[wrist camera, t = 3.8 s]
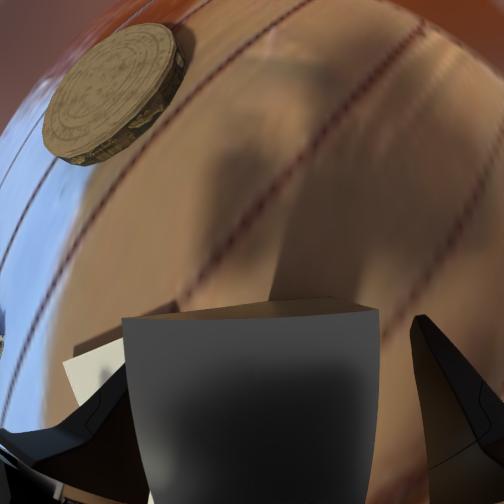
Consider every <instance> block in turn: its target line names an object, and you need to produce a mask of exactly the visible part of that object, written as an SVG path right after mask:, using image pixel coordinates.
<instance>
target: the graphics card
mask: <svg viewBox="0 0 504 504" xmlns="http://www.w3.org/2000/svg"><path fill="white" fill-rule="evenodd" d="M4 338H5V335H4V336H3V337H2V335H1V334H0V358H1V355H2V351H3V348H4Z"/></svg>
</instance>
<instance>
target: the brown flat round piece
mask: <svg viewBox="0 0 504 504" xmlns="http://www.w3.org/2000/svg"><path fill="white" fill-rule="evenodd" d="M185 67H186V59H185V56H184V52H183V49H182V47H181V46H180V44H179V42H178V41H177V39H176V38H175V36H174V35H173V33H172V31H170V30H169V29H168V28H166V27H165V26H164V25H162V24H156V23H144V24H139V25H135V26H130V27H128V28H126V29H123V30H121V31H119V32H117V33H115V34H112V35H111V36H109V37H108V38H106V39H105V40H103V41H102V42H100V43H99V44H97V45H96V46H94V47H93V48H92V49H91V50H90V51H88V52H87V53H86V54H85V55H84V56H83V57H82V58H81V59H80V60H79V61H77V63H76V64H75V65H74V66H73V67H72V68H71V70H70V71H69V72H68V73H67V74H66V76H65V77H64V78H63V80H62V81H61V83H60V84H59V86H58V88H57V89H56V91H55V93H54V94H53V96H52V98H51V101H50V103H49V105H48V108H47V111H46V113H45V117H44V122H43V128H42V135H43V141H44V146H45V147H46V148H47V149H48V150H49V151H50V152H51V154H53V155H55V156H57V157H58V158H60V159H62V160H64V161H66V162H68V163H70V164H73V165H78V166H84V167H86V166H90V165H94V164H97V163H101V162H105V161H106V160H108V159H110V158H111V157H113V156H115V155H116V154H118V153H120V152H121V151H123V150H125V149H127V148H128V147H129V146H130V145H131V144H132V143H134V142H135V141H136V140H137V139H138V138H139V137H140V136H142V135H143V134H144V133H145V132H146V131H147V130H149V129H150V128H151V127H152V125H153V124H154V123H155V122H156V120H157V119H158V118H159V117H160V116H161V114H162V113H163V112H164V111H165V110H166V108H167V107H168V106H169V105H170V103H171V101H172V100H173V98H174V96H175V94H176V92H177V90H178V89H179V87H180V85H181V83H182V81H183V76H184V72H185Z"/></svg>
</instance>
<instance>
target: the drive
mask: <svg viewBox="0 0 504 504" xmlns="http://www.w3.org/2000/svg"><path fill="white" fill-rule="evenodd" d="M122 333H123V346H124V356H125V366H126V374H127V382H128V390H129V396H130V403H131V409H132V415H133V420H134V426H135V431H136V436H137V441H138V445H139V450H140V454H141V458H142V462H143V466H144V470H145V474H146V478H147V481H148V485H149V488H150V492H151V495H152V498H153V502H154V504H365V501H366V495H367V490H368V485H369V479H370V473H371V466H372V459H373V452H374V443H375V434H376V424H377V411H378V395H379V367H380V334H379V310H378V309H374V308H371V307H367V306H363V305H360V304H356V303H352V302H349V301H345V300H341V299H338V298H334V297H319V298H305V299H290V300H274V301H264V302H257V303H250V304H243V305H236V306H228V307H221V308H213V309H205V310H197V311H188V312H179V313H170V314H160V315H150V316H140V317H128V318H122Z"/></svg>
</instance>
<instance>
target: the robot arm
mask: <svg viewBox="0 0 504 504" xmlns="http://www.w3.org/2000/svg"><path fill="white" fill-rule="evenodd" d="M410 341H411V349H412V358H413V367H414V375H415V380H416V385H417V390H418V396H419V401H420V407H421V413H422V420H423V426H424V434H425V442H426V451H427V461H428V476H429V499H430V504H504V403H503V402H502V400H501V399H500V398H499V397H498V396H497V395H496V394H495V393H494V391H493V390H492V389H491V388H490V387H489V386H488V384H487V383H486V382H485V381H484V380H482V377H481V376H480V375H479V373H478V372H477V371H476V370H475V369H474V367H473V366H472V365H471V364H470V363H469V362H468V360H467V359H466V358H465V357H464V356H463V355H462V353H461V352H460V351H459V350H458V349H457V348H456V347H455V346H454V344H453V343H452V342H451V341H450V340H449V339H448V338H447V337H446V336H445V334H444V333H443V332H442V331H441V330H440V329H439V328H438V327H437V326H436V325H435V324H434V323H433V322H432V320H431V319H430V318H429V317H428V316H427V315H425V314H422V315H416V316H415V317H414V319H413V322H412V325H411V328H410ZM0 444H1V445H2V446H3V447H5V448H6V449H7V450H8V451H9V452H8V451H6V450H5V449H3V448H2V447H0V504H148V500H149V494H150V488H149V485H148V481H147V478H146V474H145V470H144V466H143V462H142V458H141V454H140V450H139V445H138V441H137V436H136V431H135V426H134V420H133V415H132V409H131V403H130V396H129V390H128V382H127V374H126V366H125V363H124V364H123V365H122V366H121V367H120V368H119V369H118V370H117V371H116V372H115V373H114V374H113V375H112V376H111V377H110V378H109V379H108V380H107V381H106V382H105V383H104V384H103V385H102V386H101V387H100V388H99V389H98V390H97V391H96V392H95V393H94V394H93V395H92V396H91V397H90V398H89V399H88V400H87V401H86V402H85V403H83V404H82V405H81V406H80V407H79V408H78V409H77V410H75V411H74V412H73V413H72V414H71V415H69V416H68V417H67V418H66V419H65V420H63V421H62V422H61V423H60V424H58V425H56V426H54V427H52V428H48V429H42V430H36V431H30V432H23V433H10V432H9V431H7V430H6V429H4V428H1V429H0ZM11 453H12V454H11Z"/></svg>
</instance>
